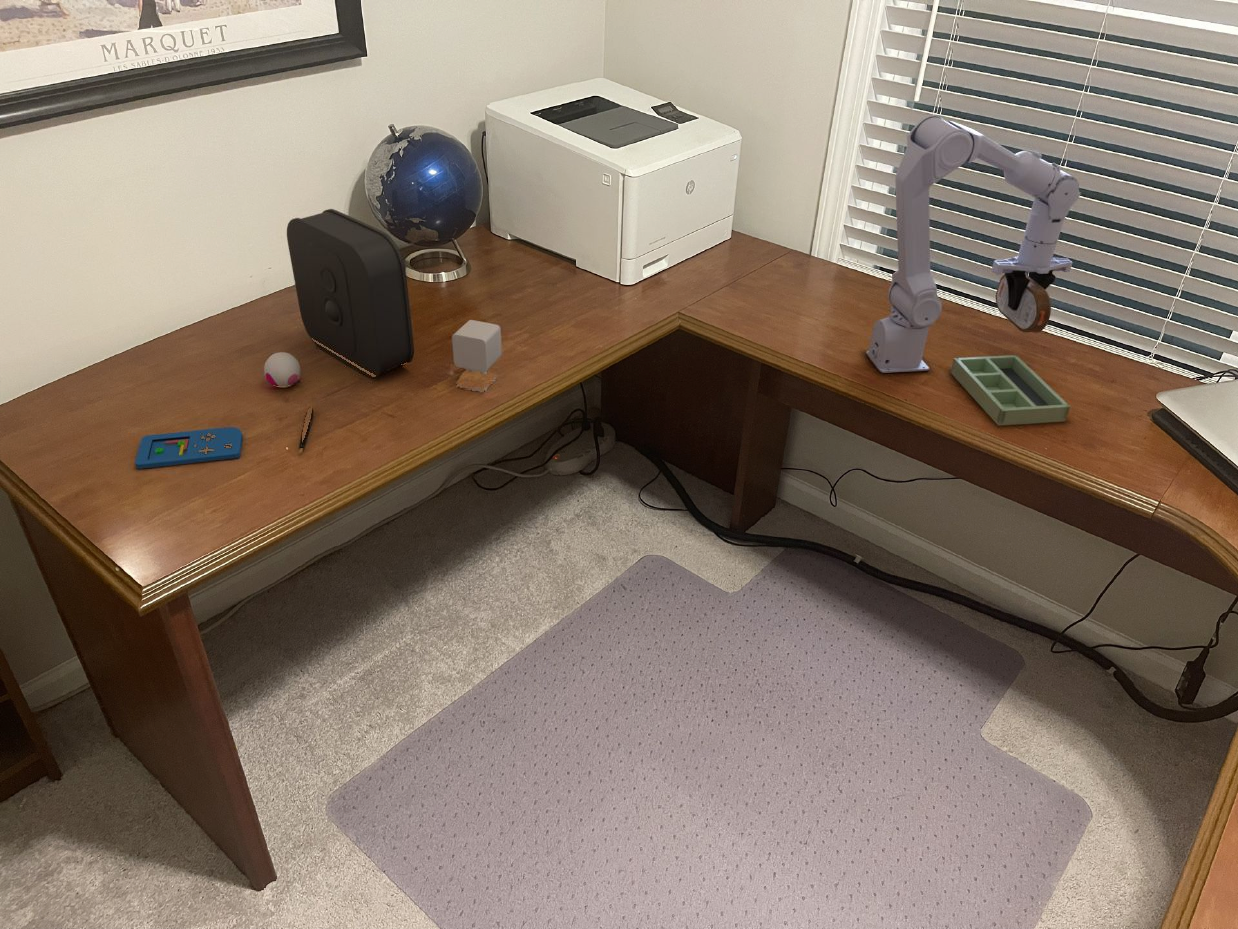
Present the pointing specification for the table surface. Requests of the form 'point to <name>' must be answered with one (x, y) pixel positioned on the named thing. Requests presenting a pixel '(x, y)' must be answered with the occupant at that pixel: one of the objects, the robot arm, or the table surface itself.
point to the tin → (1025, 306)
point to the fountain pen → (302, 444)
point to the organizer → (1009, 390)
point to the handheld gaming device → (188, 447)
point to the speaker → (352, 290)
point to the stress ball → (282, 369)
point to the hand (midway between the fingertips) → (1019, 307)
